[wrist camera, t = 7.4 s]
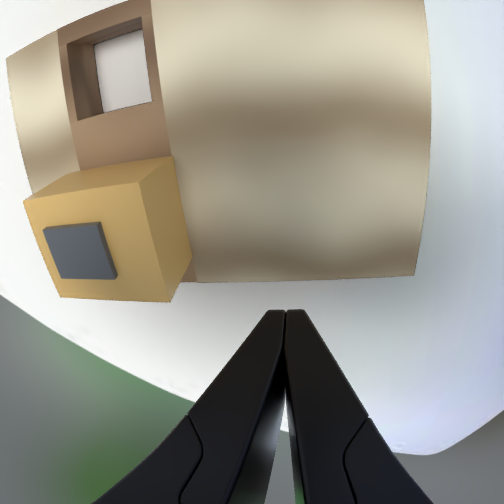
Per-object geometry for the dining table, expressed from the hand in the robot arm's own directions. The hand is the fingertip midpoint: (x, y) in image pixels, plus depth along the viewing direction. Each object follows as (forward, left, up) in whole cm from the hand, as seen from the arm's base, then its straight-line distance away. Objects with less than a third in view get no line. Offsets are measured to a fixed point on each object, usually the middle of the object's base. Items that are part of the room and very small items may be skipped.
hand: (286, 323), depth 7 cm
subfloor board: (+3, +4, -10) cm, 11 cm away
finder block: (0, +8, -7) cm, 11 cm away
